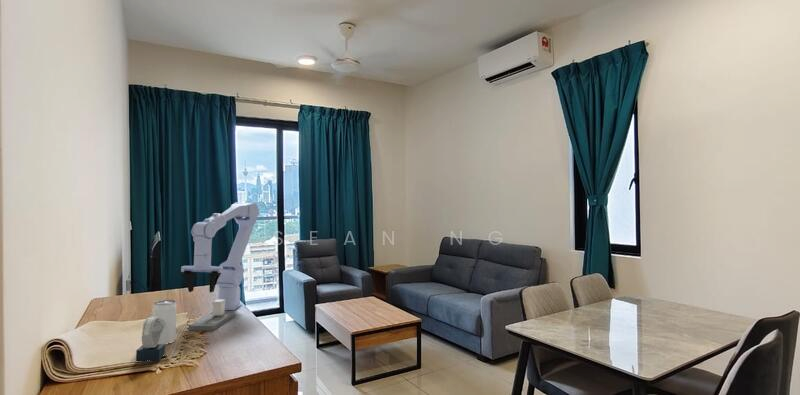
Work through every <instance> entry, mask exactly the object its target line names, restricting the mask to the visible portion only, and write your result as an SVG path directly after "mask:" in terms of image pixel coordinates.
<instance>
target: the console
mask: <svg viewBox="0 0 800 395" xmlns="http://www.w3.org/2000/svg"><path fill="white" fill-rule="evenodd" d="M234 317H235V312H233V311H225V312H224V314H223V315H221V316H217V315H213V311H212V312H210V313H208V314H207V315H205V316H202V317H201V318H200V319H198V320H197V321H194V322H192V323H191V324H189V325H188V331H201V332H202V331H204V332H211V331H212V332H214V331H215V330H217V329H218V328H219V327H221V326H223V325H224V324H225V323H226V322H228V321H230V320H231V319H232V318H234Z"/></svg>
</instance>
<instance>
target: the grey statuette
mask: <svg viewBox="0 0 800 395" xmlns="http://www.w3.org/2000/svg"><path fill="white" fill-rule="evenodd" d="M165 325H166V322H165V320H164V319H162V318H160V317H152V316H150V317H147V318H146V319H145V320H144V323H143V325H142V332H141V343H142V345H141V346H140V347H138V348H137V349H136V352H135V362H136V361H147V360H148V361H149V360H150V361H152V362H160V361H161V360H162V359H163V358H162V356H163V355H164V354H165V355H166V353H165V352H166V351H165V350H166V345H165V344H158V342H159V340H160V336H161V334H162V332H163V329H164V327H165ZM165 355H164V356H165ZM161 358H162V359H161Z"/></svg>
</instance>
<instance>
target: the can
mask: <svg viewBox="0 0 800 395" xmlns="http://www.w3.org/2000/svg"><path fill="white" fill-rule="evenodd" d="M177 307H178V306H177V303H176V301H175V300H173V299H165V300H157V301H154V303H153V306H152V309H151V317H160V318H162V319H164V320H165V322H166V325H165V327H164V329H163V332H162V334H161V336H160V340H159V342H158V344H166V343H170V342H172V341H174V340H175V341H176V335H177V334H176V333H177V332H176V331H177V312H178V311H177V310H178V308H177ZM175 341H174V342H175ZM170 344H171V343H170Z"/></svg>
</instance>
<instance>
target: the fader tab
mask: <svg viewBox="0 0 800 395" xmlns="http://www.w3.org/2000/svg"><path fill="white" fill-rule="evenodd" d="M225 300H226V299H218V298H217V299H215V300H214V301H212V312H213V315H217V316H221V315H223V314H224V312H226V310H225Z"/></svg>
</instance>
